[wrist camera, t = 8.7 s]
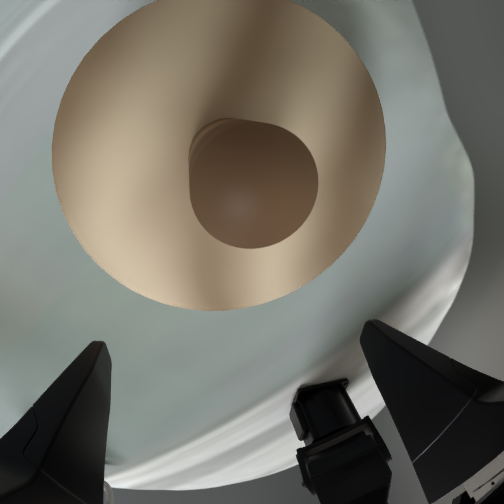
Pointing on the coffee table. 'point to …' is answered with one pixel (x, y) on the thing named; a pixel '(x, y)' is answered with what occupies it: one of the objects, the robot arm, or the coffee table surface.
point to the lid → (218, 151)
